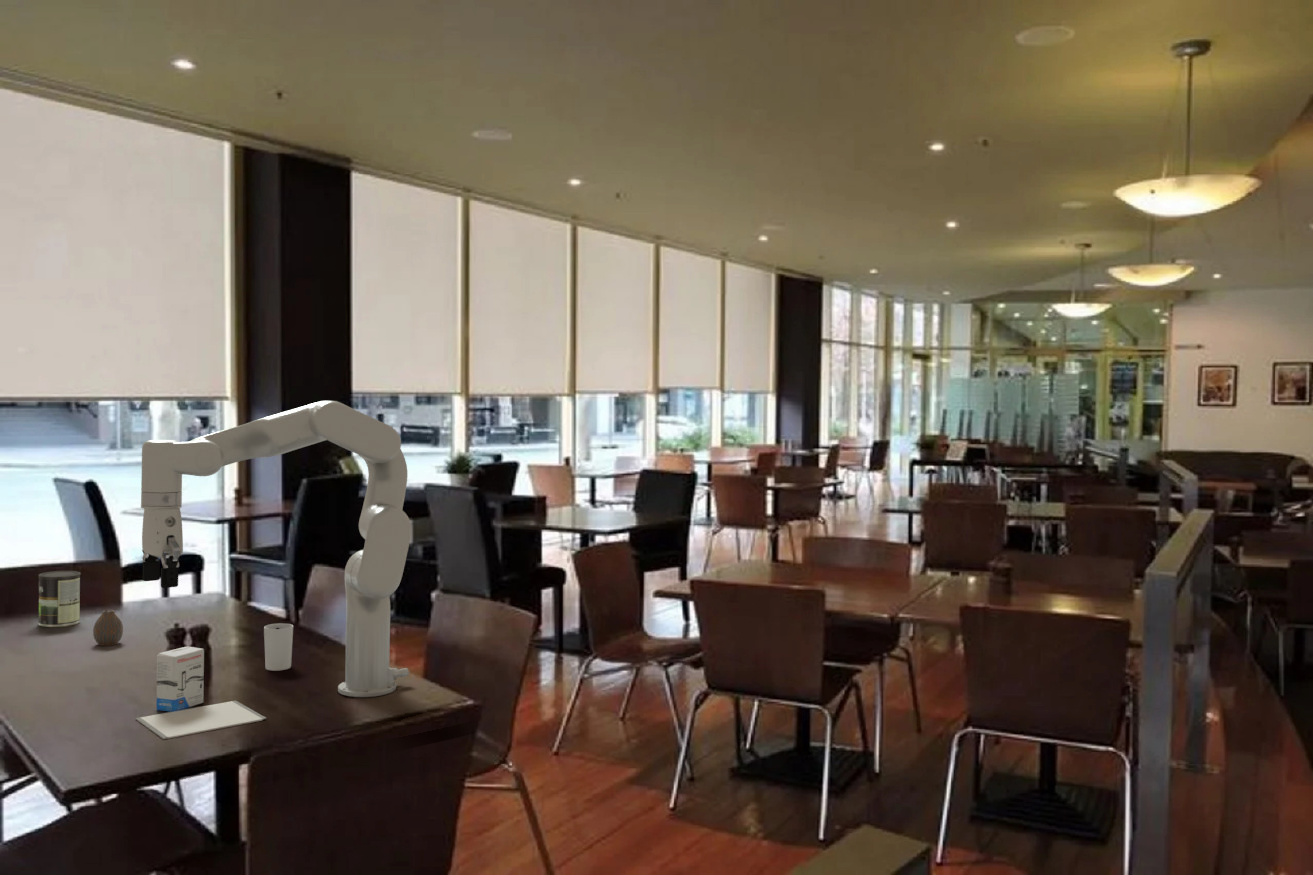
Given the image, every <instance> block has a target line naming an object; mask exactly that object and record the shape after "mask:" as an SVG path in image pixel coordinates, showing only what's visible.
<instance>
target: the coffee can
mask: <svg viewBox="0 0 1313 875" xmlns="http://www.w3.org/2000/svg"><path fill="white" fill-rule="evenodd" d="M80 592H81V572H80V571H77V570H56V571H55V570H53V571H45V572H41V573H39V574H38V626H39V627H43V628H61V627H69V626H75V625H78V624H80V622H81V620H80V618H81V616H80V615H81V614H80V605H81V604H80V596H81V594H80Z"/></svg>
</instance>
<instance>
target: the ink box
mask: <svg viewBox="0 0 1313 875" xmlns="http://www.w3.org/2000/svg"><path fill="white" fill-rule="evenodd" d="M204 668H205V649H204V648H200V647H196V646H195V647H194V646H184V647H183V646H182V647H179V648H176V649H175V648H174V649H170V650H167V651H162V652H159V653H158V654H157V655H156V711H161V712H174V711H179V710H185V709H190V708H193V707H194V706H197V705H200V704H203V703H204V687H205V685H204V682H205V681H204V676H205V675H204V672H205V669H204Z"/></svg>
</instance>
